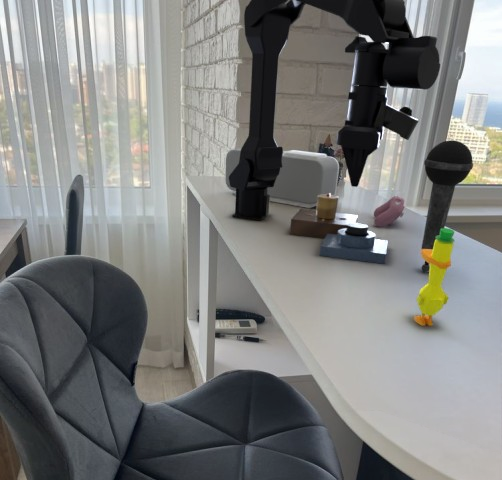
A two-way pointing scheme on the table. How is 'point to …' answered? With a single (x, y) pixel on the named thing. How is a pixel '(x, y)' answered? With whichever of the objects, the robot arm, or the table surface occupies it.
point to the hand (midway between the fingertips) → (354, 186)
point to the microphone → (443, 185)
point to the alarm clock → (297, 177)
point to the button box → (354, 247)
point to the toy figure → (435, 277)
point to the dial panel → (319, 223)
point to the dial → (326, 206)
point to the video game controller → (389, 211)
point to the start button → (357, 229)
